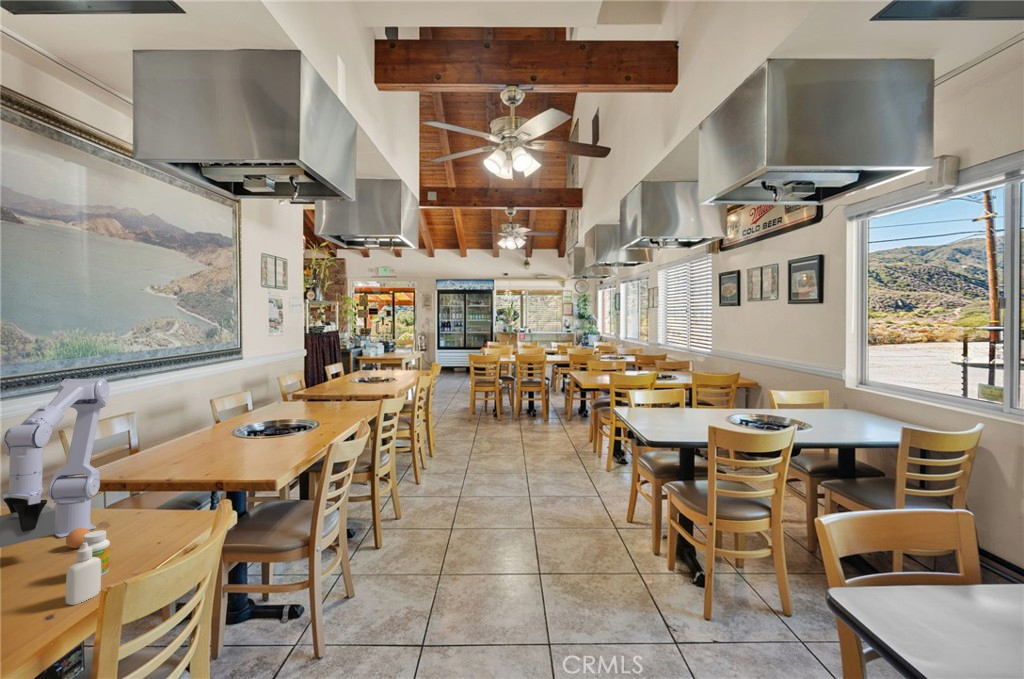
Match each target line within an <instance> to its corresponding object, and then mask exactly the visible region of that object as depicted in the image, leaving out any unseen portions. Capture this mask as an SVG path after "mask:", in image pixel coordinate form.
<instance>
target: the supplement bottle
mask: <svg viewBox="0 0 1024 679" xmlns="http://www.w3.org/2000/svg"><path fill="white" fill-rule="evenodd" d="M86 542H87V544H88V547H92V557H98V558H100V559H101V577H102V576H104V575H106V574H107V573H108V572H109V571H110V556H111V555H110V553H111V552H110V548H111V541H110V540H108V539H107V531H106V530H93V531H90V533H87V534H85V535H84V543H86ZM81 548H82V545H81V547H80V548H79V549H81Z"/></svg>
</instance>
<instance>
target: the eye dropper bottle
mask: <svg viewBox="0 0 1024 679" xmlns="http://www.w3.org/2000/svg"><path fill="white" fill-rule="evenodd" d="M65 579H66V582H65V604H66V605H70V606H74V605H78V604H82V603H83V602H86V600H87V601H89V600H90V598H91V599H93V598H94V597H96V596H98V595H99V594H100V593H99V591H100V592H101V590H102V589H101V588H102V576H101V559H100V558H98V557H92V547H88V544H87V542H86V543H83V545H82V548H81V549H80V548H78V550H77V551H76V561H75V562H73V564H70V566H69V567H68V568H67V570H66V578H65ZM88 599H89V600H88ZM81 602H82V603H81Z"/></svg>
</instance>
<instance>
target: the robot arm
mask: <svg viewBox="0 0 1024 679" xmlns="http://www.w3.org/2000/svg"><path fill="white" fill-rule="evenodd" d="M109 395H110V386H109V382H108V381H107V380H106V379H105V378H102V377H101V378H65V379H63V380H62V381H61V382H60V383H59V384H58V389H57V394H56V395H55V397H53V399H52V400H51V401H50V402H49V404H48V405H42V406H41V405H40V406H39V407H38V408H37V409H36V410H35V411H33V413H31V414H29V416H28V417H27V418H26V419H25V420H24V421H23V422H21V423H20V424H14V425H13V426H11V427H9V428H8V429H7V430H6V431H5V433H4V436H3V437H4V438H3V439H2V443H3V445H4V447H5V451H6V453H5V454H6V455H7V456H8V457H9V466H8V467H9V468H8V491H7V492H5V493H1V495H0V497H1V498H2V499H3V501H4V503H5V504H6V505H7V508H8V509H9V512H10V513H9V514H11V513H15V512H17V513H18V516H19V520H20V526H21V530H22V532H26V531H30V530H34V529H35V528H36V525H37V522H38V519H39V516H40V513H41V511H42V509H43V508H44V506H47V503H48V500H47V499H42V498H41V496H42V494H43V492H44V487H43V476H44V475H43V473H44V472H43V471H44V470H43V468H44V447H45V445H47V444H48V443H49V441H50V440H51V439H50V438H51V435H52V434H53V430H54V428H56V427H57V425H58V424H59V423H61V421H62V420H63V419H64V412H65V411H66V410H67V409H69V408H72V409H75V410H76V412H77V414H76V417H75V418H76V419H75V424H74V428H73V432H72V436H71V442H70V446H69V451H68V456H67V461H66V465H65V466H64V467H62V468H60V469H59V470H57V471H55V472H54V473H53V476H52V480H51V481H50V483H49V484H48V486H47V496H48V497H49V500H52V501H53V504H55V505H54V507H53V509H54V510H56V514H55V534H54V536H56V537H58V538H64V537H65V538H66V537H67V536H68V534H69V533H70V532H71V531H73V530H75V529H78V528H86V529H88V530H89V531H92V530H94V529H96V528H97V526H95V525H94V524H92V523H91V515H92V514H91V511H92V509H91V507H92V506H91V505H92V498H93V497H95V495H97V493H98V492H99V489H100V486H101V480H100V474H101V472H100V471H99V470H98V469H97V468H95V467H94V466H92V464H90V463H91V457H92V452H93V449H94V444H95V438H96V432H97V429H98V423H99V418H100V415H101V414H100V413H101V409H102V408H104V407H107V403H108V400H109Z"/></svg>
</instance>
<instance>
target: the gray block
mask: <svg viewBox="0 0 1024 679" xmlns="http://www.w3.org/2000/svg"><path fill="white" fill-rule="evenodd" d="M55 514H56V510H54V507H51V506H49V505H45V506H44V508H43V509H42V511H41V513H40V516H39V519H38V522H37V525H36V528H35V529H34V530H30V531H26V532H22V530H21V526H20V520H19V516H18V513H17V512H15V513H6V514H3V515H0V549H1V548H5V547H8V546H9V547H10V546H12V545H17V544H20V543H24V542H30V541H33V540H37V539H40V538H45V537H47V536H52V535H55Z"/></svg>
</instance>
